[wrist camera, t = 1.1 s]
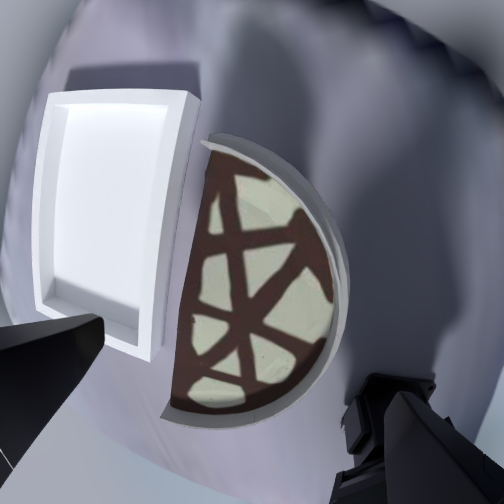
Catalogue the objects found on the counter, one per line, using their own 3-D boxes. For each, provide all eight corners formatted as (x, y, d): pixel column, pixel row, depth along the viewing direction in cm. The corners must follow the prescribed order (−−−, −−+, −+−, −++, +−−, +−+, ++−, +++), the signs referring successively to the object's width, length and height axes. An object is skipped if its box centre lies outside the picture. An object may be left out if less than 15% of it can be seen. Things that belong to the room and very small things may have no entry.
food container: (297, 351, 20) (291, 463, 11) (214, 328, 21) (159, 426, 11) (352, 177, 17) (412, 176, 7) (254, 151, 18) (204, 122, 8)
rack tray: (201, 100, 17) (187, 90, 15) (163, 345, 22) (150, 362, 20) (69, 98, 18) (49, 93, 16) (53, 299, 23) (36, 309, 21)
